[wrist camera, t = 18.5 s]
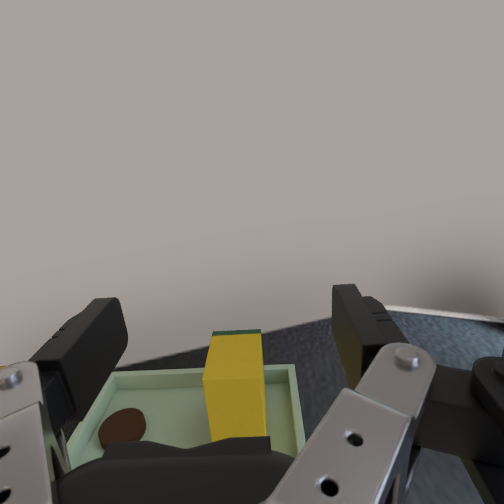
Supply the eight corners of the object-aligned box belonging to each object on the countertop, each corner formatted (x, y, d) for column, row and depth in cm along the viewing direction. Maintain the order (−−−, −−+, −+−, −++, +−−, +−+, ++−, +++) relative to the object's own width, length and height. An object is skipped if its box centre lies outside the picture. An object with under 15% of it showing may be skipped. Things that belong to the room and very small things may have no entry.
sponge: (266, 399, 36) (260, 328, 32) (267, 457, 29) (261, 377, 26) (222, 401, 36) (212, 331, 33) (214, 459, 30) (201, 379, 26)
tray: (294, 381, 39) (294, 363, 38) (312, 506, 26) (311, 484, 25) (115, 389, 40) (110, 371, 39) (46, 513, 27) (36, 491, 26)
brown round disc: (151, 413, 35) (149, 406, 35) (139, 451, 31) (137, 443, 30) (110, 416, 35) (108, 409, 35) (92, 454, 31) (89, 447, 30)
